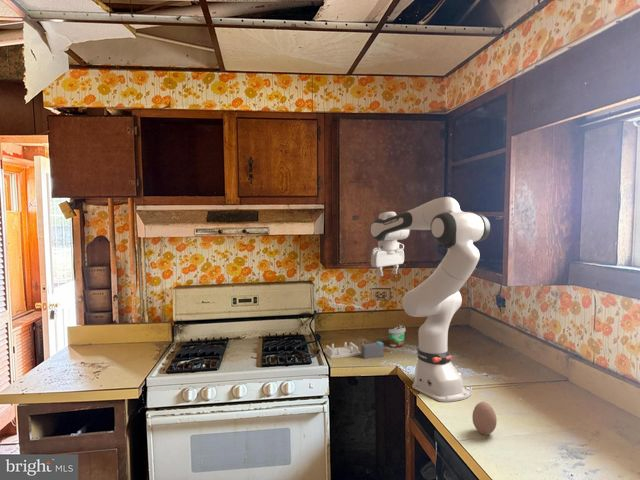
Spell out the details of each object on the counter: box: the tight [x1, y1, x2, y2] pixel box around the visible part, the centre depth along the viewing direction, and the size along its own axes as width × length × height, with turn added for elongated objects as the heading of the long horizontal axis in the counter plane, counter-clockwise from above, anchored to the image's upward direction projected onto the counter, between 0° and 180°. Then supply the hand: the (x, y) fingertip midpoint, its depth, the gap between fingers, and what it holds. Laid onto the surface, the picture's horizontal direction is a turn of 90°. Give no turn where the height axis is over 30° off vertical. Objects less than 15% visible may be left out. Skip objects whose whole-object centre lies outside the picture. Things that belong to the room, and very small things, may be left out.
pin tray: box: [322, 341, 361, 360], centre depth 195 cm, size 12×16×4 cm
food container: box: [388, 323, 407, 349], centre depth 204 cm, size 12×6×10 cm, turn 143°
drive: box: [360, 341, 385, 360], centre depth 189 cm, size 4×10×6 cm, turn 108°
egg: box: [471, 401, 498, 436], centre depth 118 cm, size 7×7×10 cm
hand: (388, 275), depth 184 cm, fingers open, 8 cm apart
